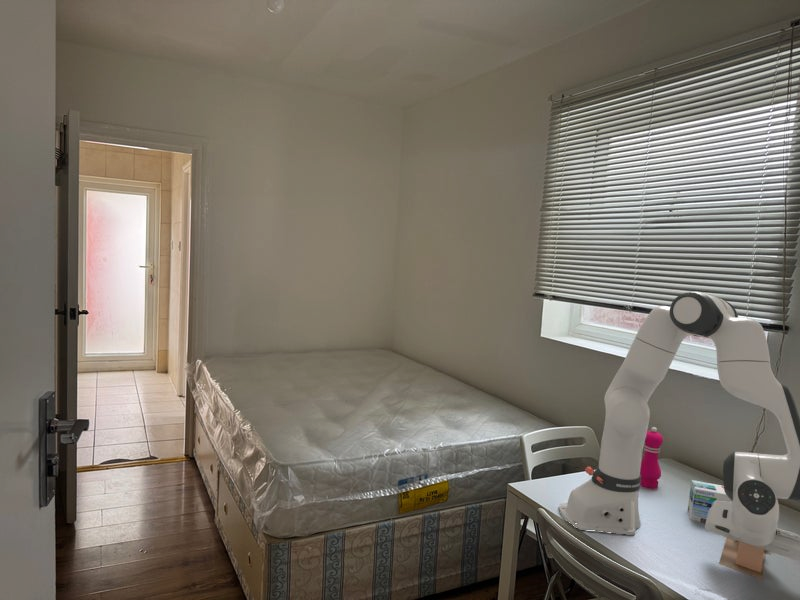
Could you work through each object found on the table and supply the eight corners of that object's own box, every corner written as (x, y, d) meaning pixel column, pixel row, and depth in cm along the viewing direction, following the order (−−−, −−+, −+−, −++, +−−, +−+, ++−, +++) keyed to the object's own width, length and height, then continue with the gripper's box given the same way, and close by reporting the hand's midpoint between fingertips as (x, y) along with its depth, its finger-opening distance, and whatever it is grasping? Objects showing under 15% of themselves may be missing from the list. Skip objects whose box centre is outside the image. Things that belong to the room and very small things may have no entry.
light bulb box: (689, 523, 156) (694, 488, 154) (686, 513, 162) (690, 478, 161) (731, 532, 152) (736, 496, 151) (726, 521, 158) (731, 486, 157)
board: (761, 582, 129) (763, 565, 128) (718, 567, 134) (720, 550, 134) (766, 549, 144) (768, 533, 144) (727, 536, 149) (729, 521, 149)
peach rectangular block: (760, 572, 131) (765, 541, 130) (735, 563, 134) (740, 533, 134) (762, 563, 135) (766, 533, 135) (738, 554, 139) (742, 525, 138)
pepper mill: (663, 490, 176) (670, 431, 174) (641, 489, 176) (648, 430, 174) (653, 480, 184) (660, 424, 181) (632, 479, 184) (638, 422, 181)
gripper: (810, 528, 121) (804, 550, 130) (707, 497, 134) (708, 519, 143) (807, 555, 118) (801, 575, 127) (702, 521, 131) (704, 542, 139)
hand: (751, 546), depth 135 cm, fingers closed on peach rectangular block, 5 cm apart
